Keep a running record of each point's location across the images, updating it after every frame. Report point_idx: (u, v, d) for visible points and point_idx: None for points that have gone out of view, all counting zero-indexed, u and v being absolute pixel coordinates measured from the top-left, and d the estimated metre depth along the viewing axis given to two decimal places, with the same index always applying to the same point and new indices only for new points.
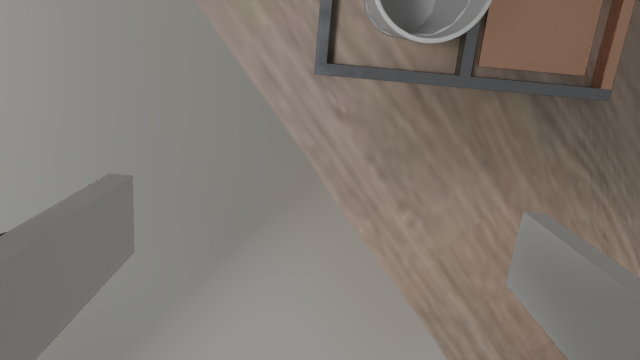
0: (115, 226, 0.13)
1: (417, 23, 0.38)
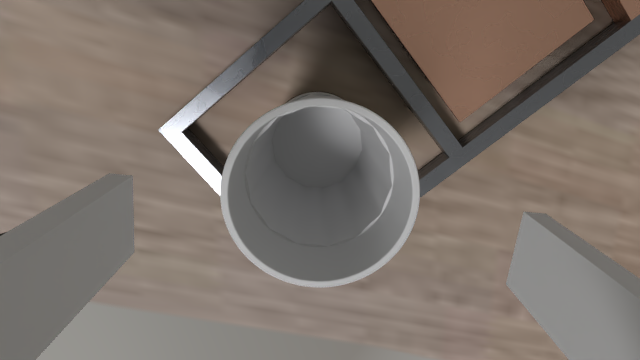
0: (115, 226, 0.13)
1: (355, 153, 0.28)
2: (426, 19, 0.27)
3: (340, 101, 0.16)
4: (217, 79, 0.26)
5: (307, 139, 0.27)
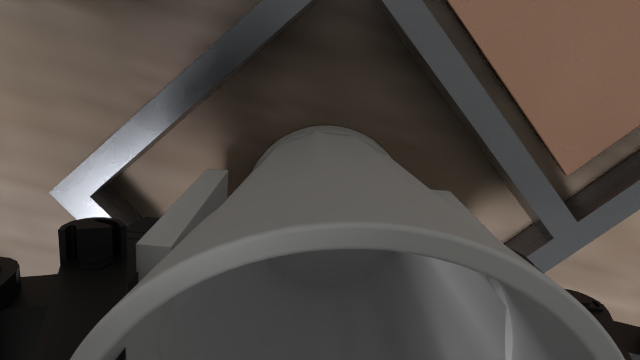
0: None
1: None
2: None
3: (420, 234, 0.05)
4: (148, 106, 0.15)
5: None
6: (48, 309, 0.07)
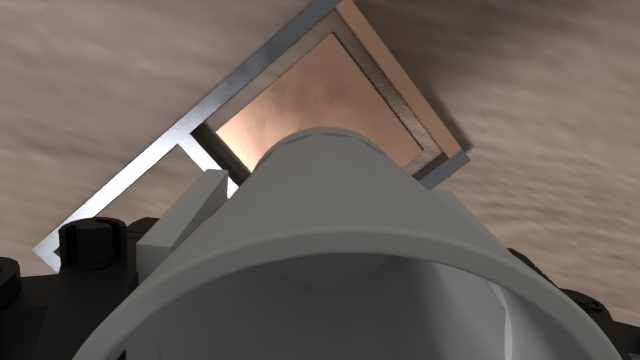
0: None
1: None
2: None
3: (419, 238, 0.05)
4: (81, 208, 0.29)
5: None
6: (49, 309, 0.07)
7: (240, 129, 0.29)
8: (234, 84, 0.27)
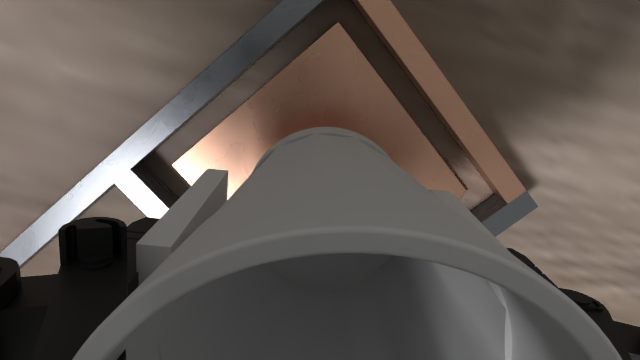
0: None
1: None
2: None
3: (419, 238, 0.05)
4: None
5: None
6: (49, 309, 0.07)
7: (207, 161, 0.20)
8: (195, 97, 0.18)
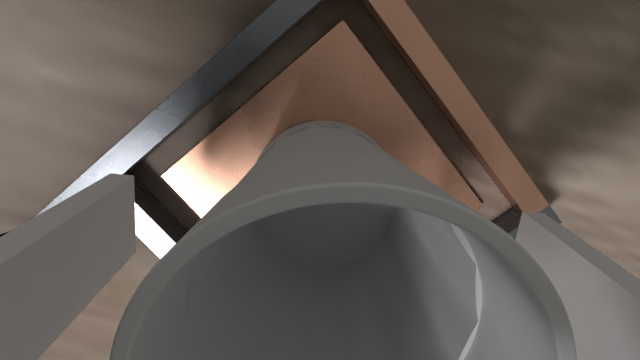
0: (117, 226, 0.13)
1: (384, 216, 0.18)
2: None
3: (398, 190, 0.06)
4: None
5: None
6: None
7: (199, 172, 0.19)
8: (184, 103, 0.17)
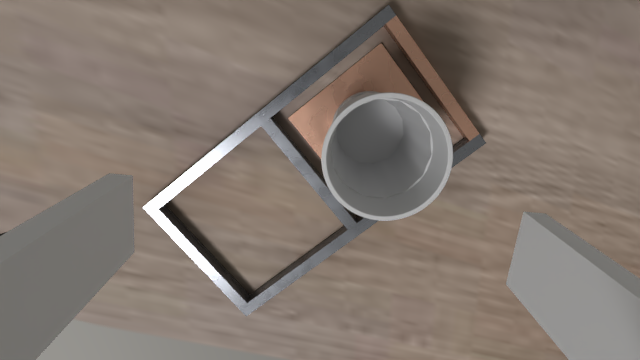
0: (115, 226, 0.13)
1: (398, 137, 0.37)
2: None
3: (402, 94, 0.25)
4: (183, 175, 0.38)
5: (362, 126, 0.36)
6: None
7: (307, 116, 0.38)
8: (307, 80, 0.36)
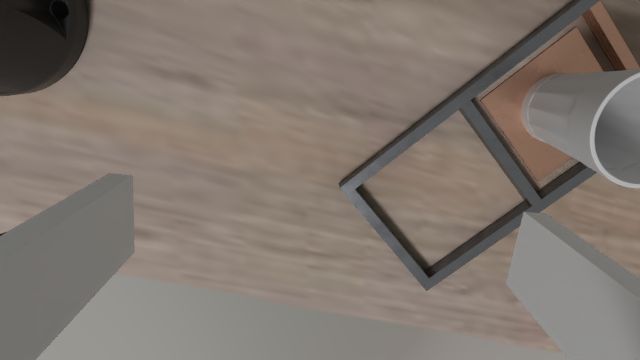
0: (115, 226, 0.13)
1: None
2: (519, 115, 0.40)
3: None
4: (382, 156, 0.40)
5: None
6: None
7: (499, 98, 0.40)
8: (509, 63, 0.38)
